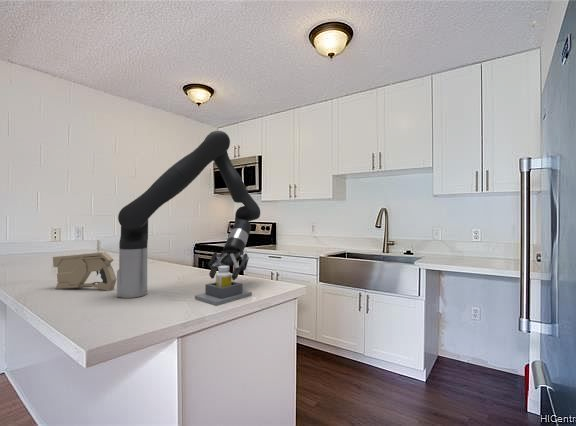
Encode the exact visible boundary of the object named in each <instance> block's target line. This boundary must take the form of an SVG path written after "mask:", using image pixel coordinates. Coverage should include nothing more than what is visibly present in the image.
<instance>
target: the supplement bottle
mask: <svg viewBox="0 0 576 426" xmlns="http://www.w3.org/2000/svg"><path fill="white" fill-rule="evenodd" d="M217 271H218V272H216V274H215V277H216V278H215V282H216V286H219V287H226V286H231V281H232V273H231V272H230V265H224V266H219V267H218V269H217Z"/></svg>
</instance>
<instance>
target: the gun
mask: <svg viewBox="0 0 576 426" xmlns="http://www.w3.org/2000/svg"><path fill="white" fill-rule="evenodd" d="M113 261H114V258H113V257H112V256H111V255H110V254H109V253H107V252H106V251H102V252H101V251H100V252H90V253H82V254H71V255H70V254H68V255H67V254H66V255H59V256H58V255H57V256H53V257H52V265H53V266H52V267H53V268H56V269H57V273H56V278H57V280H56V281H57V283H56V286H55V288H54V289H55V290H70V289H80V288H96V289H99V290H103V291H107V292H109V291H112V290H114V289H115V285H116V284H117V275H116V273H115V271H114V268H113V265H111V263H112V262H113ZM92 272H95V273H96V277H97V276H98V275H99V274H100V279H101V280H102V281H95V282H88V283H87V282H86V281H87V280H88V278H89V277H90V275H91V274H92Z"/></svg>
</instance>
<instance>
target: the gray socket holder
mask: <svg viewBox="0 0 576 426" xmlns="http://www.w3.org/2000/svg"><path fill="white" fill-rule="evenodd" d="M251 296H253V294H252V291H249V290H245V289H243V283H241V282H237V281H233V280H231V286H226V287H219V286H216V281H215V282H211V283H210V282H209V283H207V284H205V292H204V293H200V294H197V295H194V300H197V301H200V302H203V303H206V304H209V305H212V306H221V305H224V304H227V303H230V302H231V303H232V302H234V301H236V300H237V301H238V300H240V299H245V298H247V297H251Z"/></svg>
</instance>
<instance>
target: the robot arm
mask: <svg viewBox="0 0 576 426" xmlns="http://www.w3.org/2000/svg"><path fill="white" fill-rule="evenodd" d="M230 145H231V140H230V136H229V135H228V133H226V132H225V131H222V130H214V131H211V132H210V133H208V134H207V136H205V138H204V140H203V141H202V142H201V143H200V144H199V145H198V146H197V147H196V148H195V149H194V150H193V151H192V152H190V153H188V154H187V155H185V156H184V157H182V158H181V159H180V160H178V161H177V162H175V163H174V164H172V166H170V167H169V168H168V169H167V170H165V171H164V172H163V173H162V174H161V175H160V176H159V177H158V178H157V179H156V180H155V181H154V182H153V183H152V184H151V185H150V186H149V187H148V188H147V189H146V190H145V191H144V192H143V193H142V194H141V195H139V196H138V197H137V198H135V199H134V200H132V201H130V202H129V203H128V204H126V205H125V206H124V207H122V208H121V209H120V210H119V212H118V216H117V220H118V221H117V222H118V223H119V225H120V238H119V243H118V244H119V248H118V249H119V250H118V252H119V254H118V255H119V260H118V261H119V264H118V265H119V266H118V267H119V269H118V270H117V271H116V297H117V298H125V299H130V298H131V299H133V298H139V297H144V296H146V295H147V294H148V243H149V242H148V241H149V219H150V217H151V216H152V215H154V214H155V212H157V210H158V209H159V208H161V207H162V206H163V205H164V204H166V203H168V202H169V201H170V200H172V199H174V198H175V197H176V196H178V195H179V194H181V192H182V191H184V190H185V189H186V188H188V186H189V185H191V183H192V182H194V180H195V179H196V178H197V177H198V176H200V175H201V173H202V172H203V171H204V170H205V168H206V167H207V166H208V165H209V164H211V163H212V162H214V164H215V166H216V168H217V169H218V171H219V173H220V174H221V177H222V179H223V182H224V183H225V186H226V187H227V189H228V190H227V191H228V192H229V194H230V196H231V199H232V200H233V202H234V203H236V204H237V203H241V204H242V206H240V207H238V208H237V210H236V211H235V216H234V225H233V227H232V229H231V231H230V233H229V235H228V237H227V239H226V242H225V244H224V246H223V249H222V252H221V253H218V252H217V251H215V252H213V254H212V255H211V258H210V260H209V262H208V264H207V265H208V266H209V268H210V271H209V273H208V274H209V277H210V279H214V278H215V277H216V274H217V273H218V272H217V271H218V267H219V266H229V267H230V266H231V267H232V266H235V267H234V269H233V271H232V273H231V280H232V281H236V279H237V278H238V276H239V275H240V274H239V273H240V272H241V271H244V272H245V271H246V269H247V266H248V262H249V255H248V253H244V251H245V248H246V245H247V242H248V238H249V235H250V233H251V229H252V224H251V223H250V222H251V221H256V220H258V219H259V218H260V216H261V209H260V207H259V205H258V203H257V202H256V201H255V200H254V198H253V197H252V196H251V195H250V193H249V191H248V190H247V187H246V185H245V182H244V181H243V178H242V177H241V175H240V174H239V172H238V171H237V170H236V168H235V166H234V165H233V163H232V161H231V159H230V156H229V154H228V151H229V148H230ZM239 261H241V263H240V264H239V263H238V262H239Z"/></svg>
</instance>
